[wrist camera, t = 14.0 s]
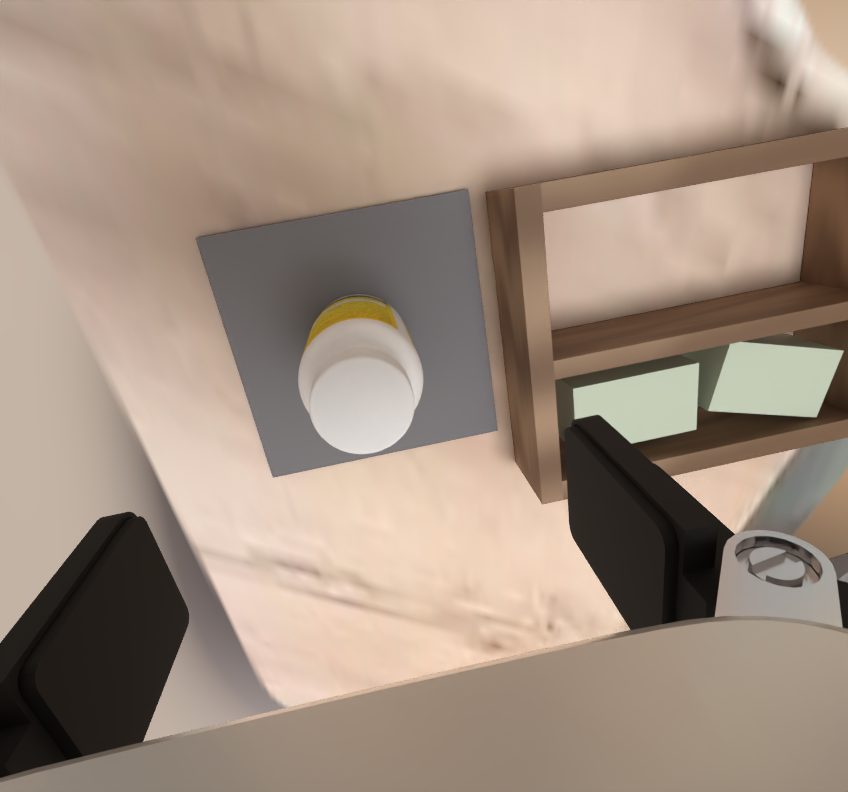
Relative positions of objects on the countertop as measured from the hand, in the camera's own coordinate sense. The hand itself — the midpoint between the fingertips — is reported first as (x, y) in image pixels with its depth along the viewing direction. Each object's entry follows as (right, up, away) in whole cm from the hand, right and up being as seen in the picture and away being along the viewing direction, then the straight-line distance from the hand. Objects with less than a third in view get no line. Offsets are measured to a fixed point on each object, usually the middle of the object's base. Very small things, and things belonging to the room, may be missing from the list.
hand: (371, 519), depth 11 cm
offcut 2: (+20, +5, +21) cm, 29 cm away
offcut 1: (+12, +4, +20) cm, 24 cm away
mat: (-2, +6, +17) cm, 18 cm away
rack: (+16, +7, +19) cm, 26 cm away
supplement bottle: (-2, +6, +17) cm, 18 cm away
